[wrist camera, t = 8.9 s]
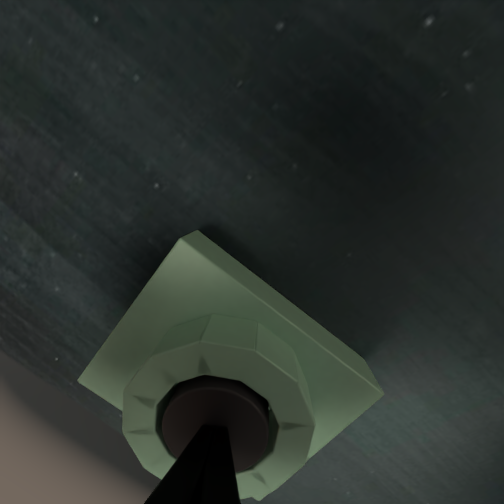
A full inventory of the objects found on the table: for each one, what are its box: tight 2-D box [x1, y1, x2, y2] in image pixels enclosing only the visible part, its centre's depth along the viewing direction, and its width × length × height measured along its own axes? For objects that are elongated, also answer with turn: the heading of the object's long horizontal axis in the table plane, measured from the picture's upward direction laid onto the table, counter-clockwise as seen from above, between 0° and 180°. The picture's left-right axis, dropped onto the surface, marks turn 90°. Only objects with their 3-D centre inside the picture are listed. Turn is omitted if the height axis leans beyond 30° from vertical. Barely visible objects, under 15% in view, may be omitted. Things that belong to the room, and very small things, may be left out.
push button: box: [162, 375, 269, 473], centre depth 9 cm, size 4×4×2 cm
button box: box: [78, 230, 384, 501], centre depth 10 cm, size 10×8×4 cm
